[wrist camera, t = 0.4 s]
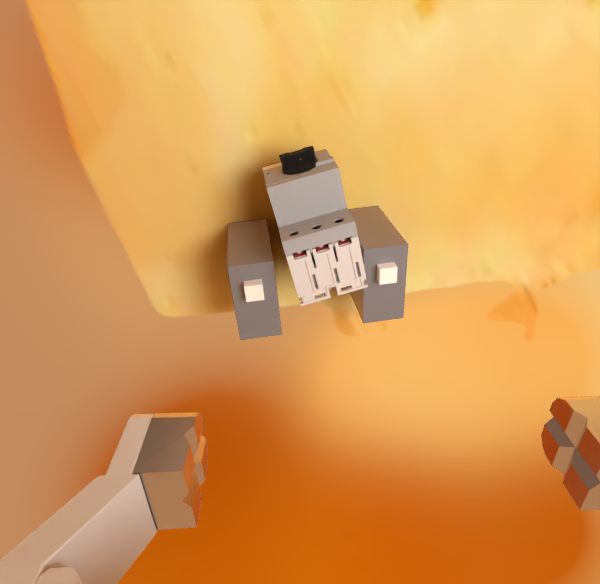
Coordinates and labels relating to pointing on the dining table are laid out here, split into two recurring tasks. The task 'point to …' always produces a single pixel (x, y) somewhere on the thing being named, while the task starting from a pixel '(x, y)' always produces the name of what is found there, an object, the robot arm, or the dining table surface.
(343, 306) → the dining table surface
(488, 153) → the dining table surface
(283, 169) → the circuit breaker
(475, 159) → the dining table surface
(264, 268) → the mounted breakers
